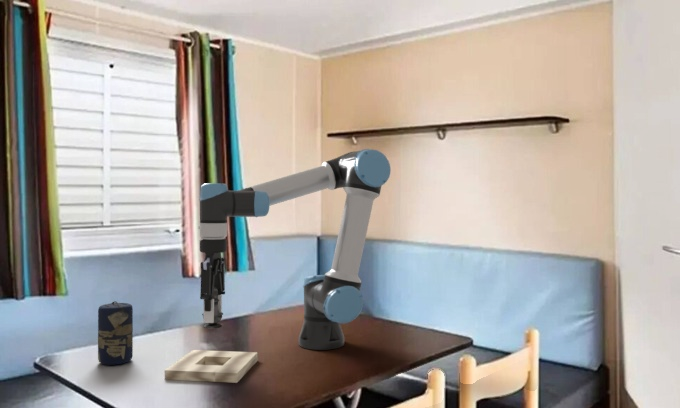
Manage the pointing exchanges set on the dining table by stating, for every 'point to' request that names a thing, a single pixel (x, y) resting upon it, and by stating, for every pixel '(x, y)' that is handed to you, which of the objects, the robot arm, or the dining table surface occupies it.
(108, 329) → the canister
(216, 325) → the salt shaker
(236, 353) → the socket
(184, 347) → the dining table surface
